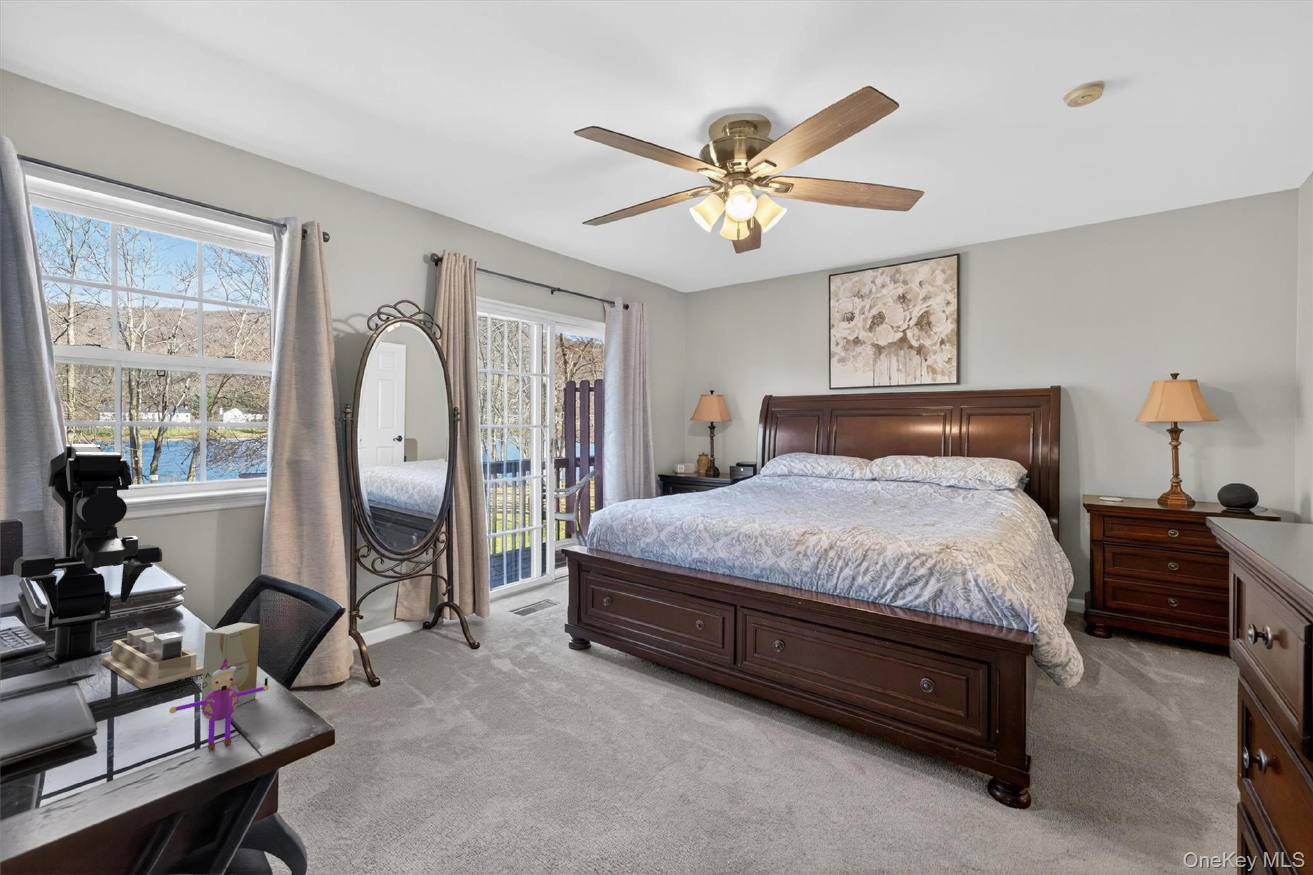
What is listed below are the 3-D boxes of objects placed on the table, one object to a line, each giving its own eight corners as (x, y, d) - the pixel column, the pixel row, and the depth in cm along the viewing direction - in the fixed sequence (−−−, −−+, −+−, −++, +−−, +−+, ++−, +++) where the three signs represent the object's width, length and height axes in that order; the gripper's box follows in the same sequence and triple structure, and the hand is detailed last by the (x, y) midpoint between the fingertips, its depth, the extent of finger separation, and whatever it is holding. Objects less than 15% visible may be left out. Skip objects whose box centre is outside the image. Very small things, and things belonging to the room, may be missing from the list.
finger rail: (102, 662, 111) (103, 633, 111) (161, 650, 118) (162, 622, 118) (141, 689, 99) (143, 656, 99) (204, 673, 107) (206, 642, 107)
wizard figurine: (168, 764, 76) (172, 671, 76) (165, 755, 78) (169, 665, 78) (269, 735, 84) (273, 651, 84) (264, 728, 86) (267, 646, 86)
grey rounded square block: (182, 669, 105) (183, 636, 105) (161, 674, 102) (162, 640, 102) (173, 664, 107) (174, 631, 107) (152, 669, 105) (153, 635, 105)
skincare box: (222, 714, 90) (225, 634, 91) (199, 711, 91) (202, 632, 92) (258, 697, 97) (261, 622, 97) (236, 694, 98) (239, 621, 98)
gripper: (32, 530, 94) (27, 628, 93) (175, 520, 110) (171, 604, 109) (14, 524, 100) (10, 616, 99) (152, 515, 116) (149, 595, 115)
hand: (90, 607), depth 106 cm, fingers open, 9 cm apart
